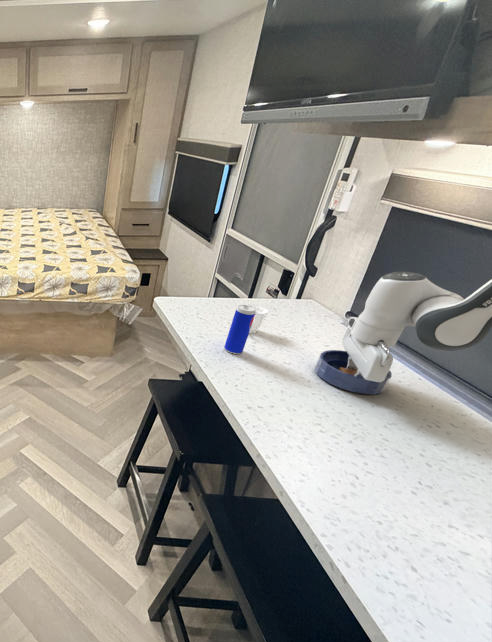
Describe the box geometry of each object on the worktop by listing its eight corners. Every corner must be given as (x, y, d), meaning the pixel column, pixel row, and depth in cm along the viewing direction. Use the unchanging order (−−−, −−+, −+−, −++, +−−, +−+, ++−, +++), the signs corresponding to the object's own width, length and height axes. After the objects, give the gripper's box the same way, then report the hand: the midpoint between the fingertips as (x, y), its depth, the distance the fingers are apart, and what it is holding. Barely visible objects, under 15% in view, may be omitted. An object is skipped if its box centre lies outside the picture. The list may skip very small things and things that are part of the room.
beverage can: (243, 356, 123) (258, 312, 116) (225, 353, 124) (238, 310, 117) (240, 347, 127) (254, 305, 120) (222, 345, 129) (235, 303, 122)
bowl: (371, 371, 115) (379, 356, 112) (392, 401, 103) (402, 386, 100) (308, 360, 120) (314, 346, 118) (321, 387, 108) (328, 372, 106)
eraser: (360, 380, 110) (364, 371, 109) (364, 387, 107) (369, 378, 106) (335, 375, 112) (340, 367, 111) (339, 382, 109) (343, 373, 108)
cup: (261, 329, 138) (269, 308, 134) (258, 340, 131) (266, 319, 127) (239, 323, 142) (245, 303, 138) (234, 334, 135) (241, 313, 131)
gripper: (408, 354, 93) (381, 401, 99) (376, 318, 109) (354, 360, 116) (374, 349, 95) (350, 395, 102) (347, 314, 111) (328, 356, 118)
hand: (352, 376), depth 109 cm, fingers closed on eraser, 3 cm apart
